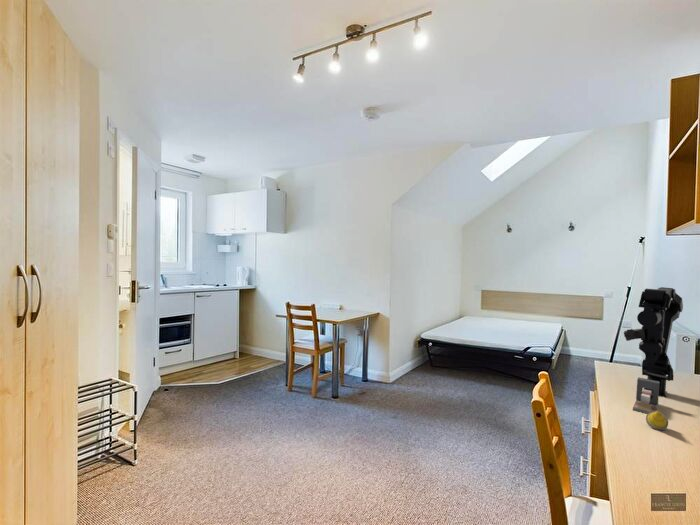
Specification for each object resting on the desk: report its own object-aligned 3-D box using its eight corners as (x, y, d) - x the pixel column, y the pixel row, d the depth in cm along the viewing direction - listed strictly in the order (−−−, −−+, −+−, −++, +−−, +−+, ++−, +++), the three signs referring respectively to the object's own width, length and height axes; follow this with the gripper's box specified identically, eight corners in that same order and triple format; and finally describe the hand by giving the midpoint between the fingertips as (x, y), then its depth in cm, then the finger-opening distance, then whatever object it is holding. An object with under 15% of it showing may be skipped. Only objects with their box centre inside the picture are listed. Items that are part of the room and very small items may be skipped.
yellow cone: (671, 431, 117) (675, 416, 111) (653, 436, 118) (655, 422, 112) (659, 414, 121) (661, 400, 115) (641, 419, 122) (642, 405, 116)
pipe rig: (637, 399, 141) (638, 384, 141) (658, 404, 137) (659, 388, 137) (632, 410, 131) (633, 394, 130) (655, 415, 127) (656, 399, 126)
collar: (636, 397, 140) (638, 377, 139) (658, 402, 136) (659, 381, 135) (636, 399, 137) (637, 379, 137) (657, 404, 133) (658, 383, 133)
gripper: (629, 317, 152) (626, 356, 152) (622, 323, 138) (620, 366, 138) (665, 321, 144) (662, 363, 145) (663, 328, 130) (659, 374, 131)
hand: (650, 366), depth 140 cm, fingers open, 7 cm apart
